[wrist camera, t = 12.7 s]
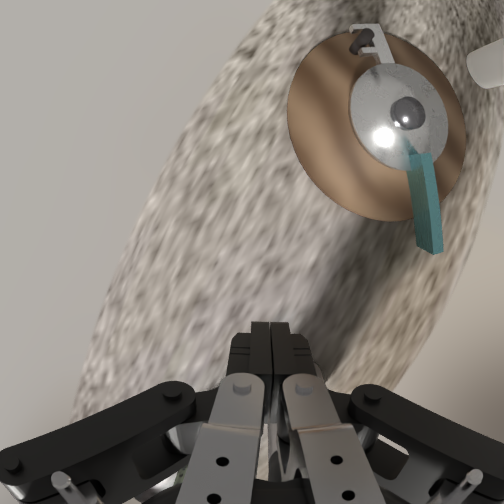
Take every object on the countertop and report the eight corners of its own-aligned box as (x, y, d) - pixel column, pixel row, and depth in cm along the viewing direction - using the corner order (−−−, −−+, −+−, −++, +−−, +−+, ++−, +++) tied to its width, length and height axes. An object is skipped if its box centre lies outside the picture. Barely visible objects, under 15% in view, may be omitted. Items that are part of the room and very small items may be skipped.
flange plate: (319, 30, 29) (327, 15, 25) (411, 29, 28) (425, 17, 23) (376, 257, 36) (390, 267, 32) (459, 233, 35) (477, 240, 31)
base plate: (376, 8, 31) (393, -14, 24) (484, 145, 36) (513, 144, 28) (242, 109, 36) (238, 95, 29) (377, 259, 41) (399, 276, 34)
